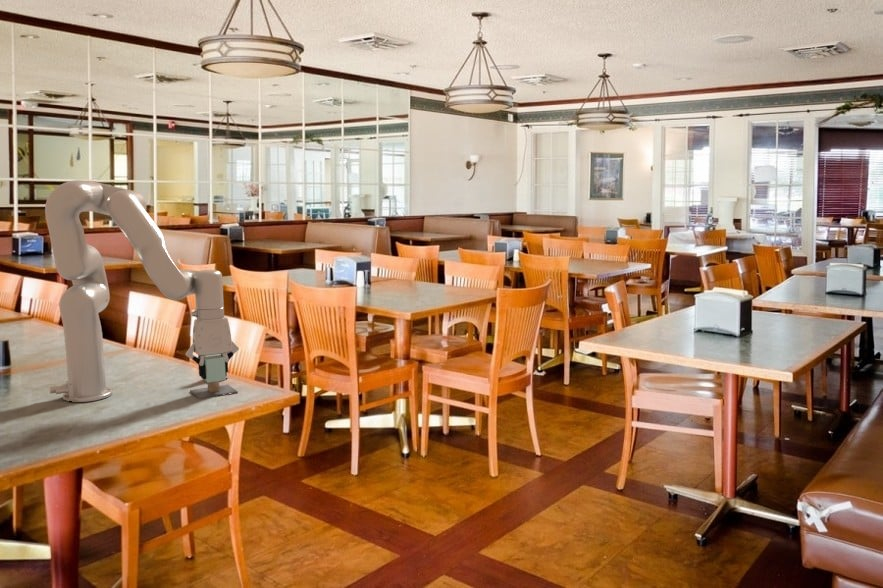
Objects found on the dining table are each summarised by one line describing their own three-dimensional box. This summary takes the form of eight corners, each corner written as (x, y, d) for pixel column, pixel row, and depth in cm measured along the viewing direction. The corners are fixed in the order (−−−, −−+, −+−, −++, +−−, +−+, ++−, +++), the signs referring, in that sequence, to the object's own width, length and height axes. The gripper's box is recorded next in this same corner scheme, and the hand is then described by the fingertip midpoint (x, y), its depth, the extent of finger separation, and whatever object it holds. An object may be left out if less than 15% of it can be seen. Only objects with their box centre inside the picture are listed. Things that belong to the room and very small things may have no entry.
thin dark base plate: (198, 399, 211) (197, 374, 210) (190, 391, 218) (188, 367, 217) (237, 393, 217) (236, 369, 216) (228, 386, 224) (227, 363, 223)
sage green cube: (207, 382, 213) (206, 359, 212) (202, 378, 218) (201, 356, 217) (225, 379, 216) (224, 357, 215) (220, 376, 220) (219, 353, 219)
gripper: (182, 319, 207) (186, 384, 209) (244, 312, 216) (247, 375, 218) (175, 315, 213) (179, 378, 215) (236, 309, 222) (239, 370, 224)
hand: (213, 376), depth 217 cm, fingers closed on sage green cube, 5 cm apart
